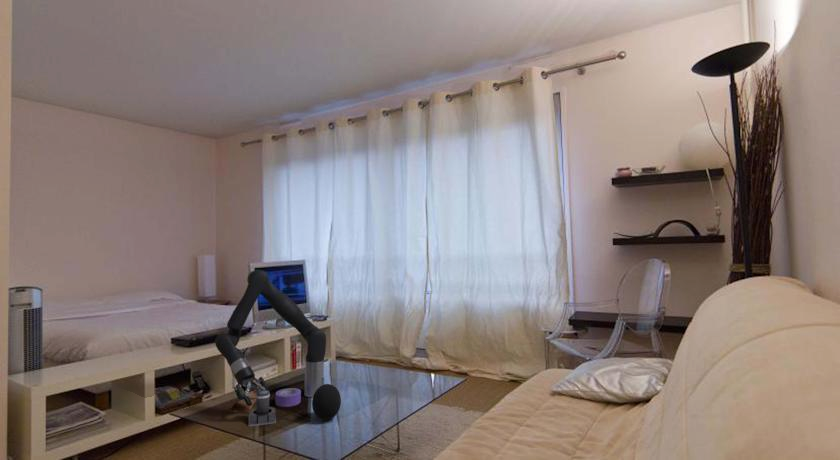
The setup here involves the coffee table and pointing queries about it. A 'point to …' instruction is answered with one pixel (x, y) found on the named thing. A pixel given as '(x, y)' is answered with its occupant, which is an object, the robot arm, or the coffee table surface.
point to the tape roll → (288, 397)
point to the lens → (262, 402)
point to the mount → (262, 418)
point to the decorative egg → (326, 402)
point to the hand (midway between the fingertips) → (258, 402)
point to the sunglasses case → (242, 404)
